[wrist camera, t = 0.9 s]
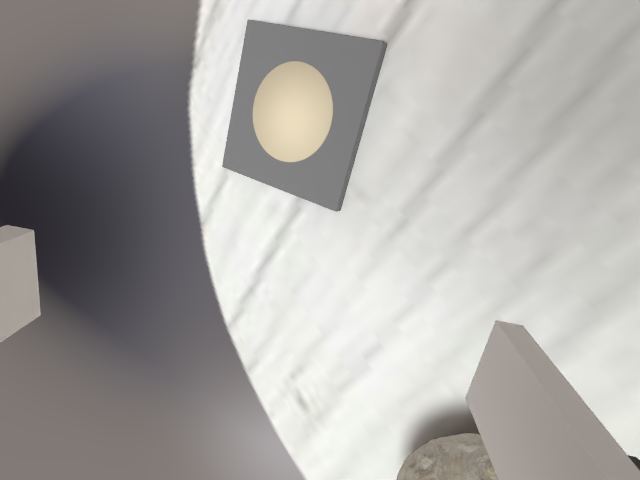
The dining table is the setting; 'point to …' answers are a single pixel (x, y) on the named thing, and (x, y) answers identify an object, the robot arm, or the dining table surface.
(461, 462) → the grey rounded rock
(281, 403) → the dining table surface
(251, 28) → the mat
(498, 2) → the dining table surface
